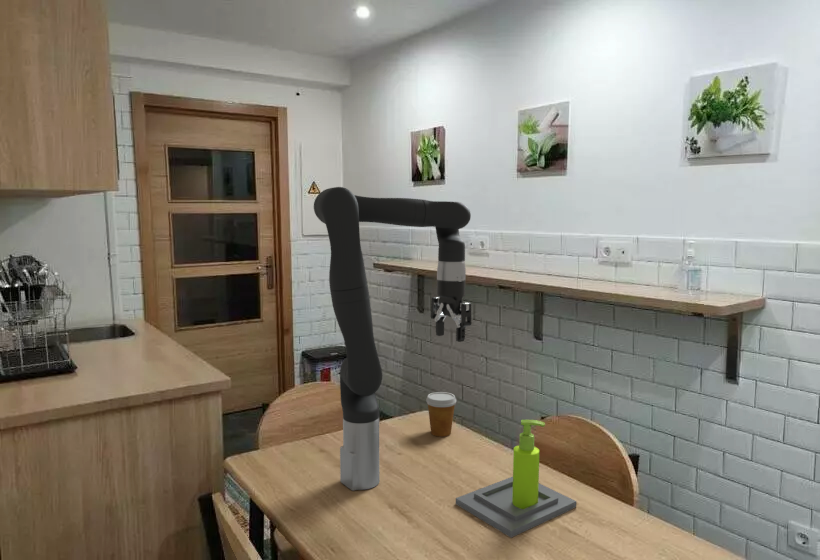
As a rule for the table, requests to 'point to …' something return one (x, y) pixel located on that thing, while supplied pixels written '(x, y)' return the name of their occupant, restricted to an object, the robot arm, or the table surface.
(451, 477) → the table surface
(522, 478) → the soap dispenser
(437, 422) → the disposable coffee cup
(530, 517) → the stand
